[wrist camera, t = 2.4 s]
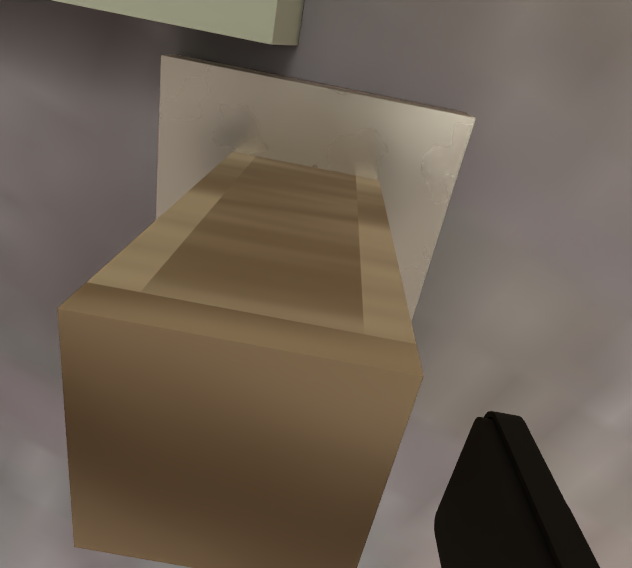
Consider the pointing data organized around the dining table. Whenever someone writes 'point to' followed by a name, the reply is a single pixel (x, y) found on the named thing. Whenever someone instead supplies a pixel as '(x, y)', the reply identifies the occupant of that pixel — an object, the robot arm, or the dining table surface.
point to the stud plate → (314, 143)
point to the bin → (216, 16)
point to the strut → (241, 374)
